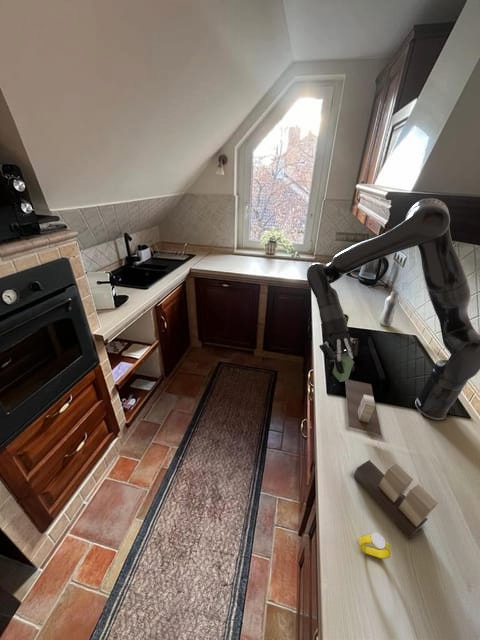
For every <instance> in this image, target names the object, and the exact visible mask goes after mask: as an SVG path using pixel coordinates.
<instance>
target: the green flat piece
mask: <svg viewBox="0 0 480 640" xmlns="http://www.w3.org/2000/svg"><path fill="white" fill-rule="evenodd" d="M340 355H341V361H342V364H343V368H344V373H341V374H339V372H337V369H336V365H335V364H334V365H333V369H332V375H334V377H335V378H336V379H337V380H338V381H339V383H342V382H345V381H347V380H349V378H350V375H351V372H352V371H351V369H352V367H353V364H354V365H355V361H354V359H353V360H352V359H351V358H350V357H349V356H348V355H347V354H346V353H344V354H343V353H341V354H340Z"/></svg>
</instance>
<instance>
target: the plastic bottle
mask: <svg viewBox="0 0 480 640" xmlns="http://www.w3.org/2000/svg"><path fill="white" fill-rule="evenodd" d="M400 294H401V293H400V292H399V291H397V290H392V291H391V293H390V295H389V296H388V297H386V299H385V302H384V307H383V311H382V313H381V315H380V317H379V318H378V323H379V324H380V325H381V326H385V327H389V326H392V324H393V322H394V321H393V320H394V315H395V312H396V310H397V308H398V306H399V304H400V298H399V297H400Z"/></svg>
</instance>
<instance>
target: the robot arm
mask: <svg viewBox="0 0 480 640" xmlns="http://www.w3.org/2000/svg"><path fill="white" fill-rule="evenodd" d="M450 223H451V216H450V211H449V208H448V206H447V204H446V203H445V202H443V201H442V200H439V199H438V198H433V197H431V198H430V197H428V198H423V199H421V200H419V201H417V202H416V203H414V204H413V205H412V206H411V207H410V209H409V210H408V212H407V214H406V215H405V219H404V221H402V222H401V223H399V224H398V225H396V226H395V227H393V228H391V229H390V230H388V231H386V232H385V233H382V234H381V235H378V236H376V237H373V238H370V239H369V238H368V239H366V240H364V241H360V242H358V243H356V244H353V245H351V246H349V247H348V248H346V249H344V250H341V251H340V252H339V253H337V254H335V256H333V258H332V261H331V262H329V263H326V264H325V263H321V262H313V263H312V264H310V265H309V266H308V268H307V270H306V279H307V283H308V285H309V287H310V290H311V291H312V293H313V296H314V297H315V299H316V303H317V308H318V311H319V319H320V323H321V326H322V330H323V331H322V332H323V335H324V336H325V342H323V343H322V344H320V345H319V348H320V350H321V352H322V353H323V355H324V356H325V357H326V359H327V361H329V362H334V365H336V369H337V372H339V374H341V373H344V368H343V364H342V361H341V355H340V354H344V353H346V354H347V355H348V356H349V357H350V358H351V359H352V360H353V361H354V358H355V357H357V356H358V354H359V353H358V352H359V342H360V340H359V338H354V337H351V336H350V334H349V328H348V323H346V320H345V316H344V314H345V313H344V310H343V307H342V304H341V302H340V297H339V294H338V291H337V290H336V289H335V288H333V287H332V285H331V284H334V283H335V282H337V281H338V280H340V279H341V278H342V277H344V276H345V275H346V274H348V273H349V274H350V273H351V272H354V271H356V270H357V269H359V268H362V267H364V266H366V265H369V264H370V263H372V262H375V261H377V260H380V259H383V258H385V257H387V256H390V255H393V254H396V253H399V252H401V251H404V250H408V249H411V248H415V247H417V249H418V251H419V255H420V260H421V269H422V276H423V282H424V286H425V290H426V292H427V295H428V298H429V301H430V303H431V305H432V309H433V310H434V312H435V314H436V316H437V318H438V321H439V327H440V332H441V338H442V339H441V340H442V343H443V346H444V347H445V349H446V350H447V351H448V352H449V354H450V356H449V358H448V359H439V360H437V361H436V363H435V364H434V367H433V368H432V370H431V372H430V374H429V376H428V378H427V379H426V381H425V383H424V385H423V387H422V389H421V390H420V393H419V395H418V397H417V398H416V399H415V402H414V403H415V404H414V405H415V407H416V408H417V410H419V412H420V414H421V415H422V416H424V417H425V418H427V419H430V420H433V421H443V420H445V418H446V416H447V414H448V413H449V411H450V410H451V408H452V407H453V405H454V403H455V402H456V400H457V399H458V398H459V396H460V394H461V393H462V391H463V390H464V388H465V386H466V384H467V383H468V381H469V380H471V379H472V378H474V377H475V376H476V375H477V374H478V373H479V372H480V333H479V332H477V330H476V329H475V327H474V326H473V324H472V322H471V319H470V317H469V313H468V309H469V305H470V302H471V299H472V298H471V296H472V295H471V288H470V284H469V280H468V277H467V273H466V271H465V269H464V267H463V264H462V262H461V259H460V257H459V255H458V252H457V251H456V249H455V246H454V244H453V241H452V235H451V230H450V229H451V228H450ZM341 351H342V352H341ZM354 371H355V363H354V364H353V367H352V369H351V372H354Z"/></svg>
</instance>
